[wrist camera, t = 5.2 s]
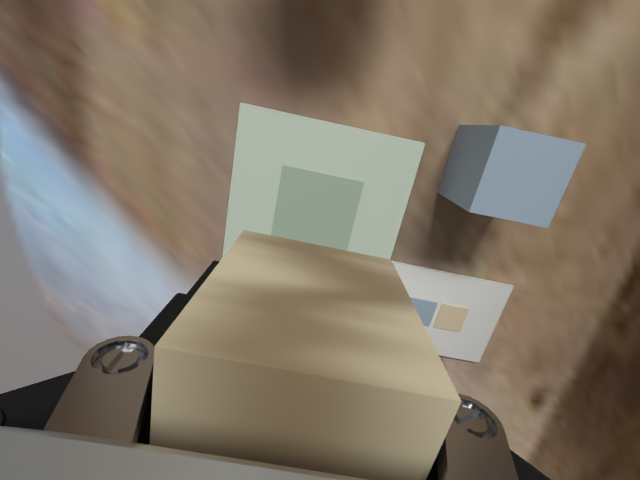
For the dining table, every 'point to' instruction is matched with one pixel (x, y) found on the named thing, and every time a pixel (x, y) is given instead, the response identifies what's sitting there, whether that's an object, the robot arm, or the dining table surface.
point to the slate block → (509, 172)
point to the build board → (319, 182)
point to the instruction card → (455, 308)
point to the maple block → (303, 365)
